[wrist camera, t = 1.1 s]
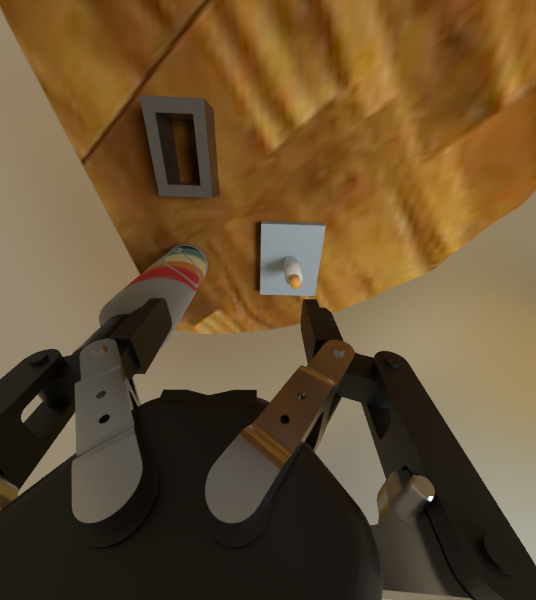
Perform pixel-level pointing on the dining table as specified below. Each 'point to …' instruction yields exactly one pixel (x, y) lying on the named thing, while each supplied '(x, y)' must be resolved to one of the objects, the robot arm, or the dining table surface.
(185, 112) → the link
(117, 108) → the dining table surface
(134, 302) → the lotion bottle
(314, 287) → the grey base with peg
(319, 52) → the dining table surface
